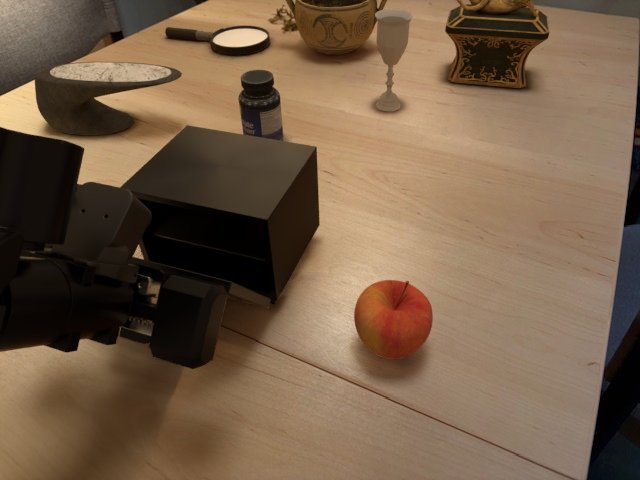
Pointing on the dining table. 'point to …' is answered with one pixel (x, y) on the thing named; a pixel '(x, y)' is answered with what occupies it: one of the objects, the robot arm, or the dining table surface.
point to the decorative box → (494, 41)
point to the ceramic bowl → (335, 23)
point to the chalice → (391, 49)
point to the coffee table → (92, 93)
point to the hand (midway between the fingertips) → (166, 295)
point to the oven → (230, 206)
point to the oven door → (230, 287)
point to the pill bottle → (260, 105)
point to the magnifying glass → (227, 38)
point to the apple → (393, 318)
